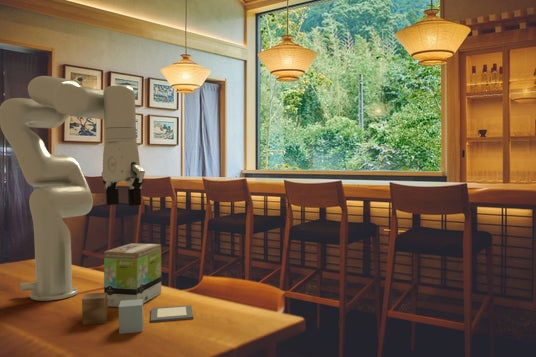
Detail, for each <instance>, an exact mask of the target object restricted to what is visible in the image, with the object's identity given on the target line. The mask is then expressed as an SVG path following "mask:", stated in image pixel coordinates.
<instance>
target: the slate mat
mask: <svg viewBox="0 0 536 357" xmlns="http://www.w3.org/2000/svg"><path fill="white" fill-rule="evenodd" d="M150 311H151V312H150V320H149V322H150V323H159V322H160V323H161V322H170V321H172V322H173V321H181V320H182V321H184V320H194V313H193V307H192V305H191V304H187V305H174V306H162V307H161V306H160V307H152V308H151V310H150Z"/></svg>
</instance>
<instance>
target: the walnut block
mask: <svg viewBox="0 0 536 357" xmlns="http://www.w3.org/2000/svg"><path fill="white" fill-rule="evenodd" d="M81 307H82V308H81V311H82V312H81V313H82V326H84V325H85V326H86V325H94V324H105V323H106V322H107V319H108V317H109V315H108V314H109V313H108V306H107V292H106V293H104V292H94V293H85V294H84V295H83V297H82V299H81Z"/></svg>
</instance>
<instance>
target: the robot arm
mask: <svg viewBox="0 0 536 357" xmlns="http://www.w3.org/2000/svg"><path fill="white" fill-rule="evenodd" d="M27 92H28V95H29V97H30V98H25V97H14V98H8V99H6V100H4V101H3V102H2V103H1V104H0V129H1V132H2V134H3V135H4V137H5V139H6V140H7V142H8V143H9V145H10V147H11V148H12V150H13V152H14V154H15V158H16V160H17V162H18V165H19V167H20V169H21V172H22V174H23V177H24V179H25V181H26V183H27V184H28V185H29V186H31V187H34V188H36V189H34V190H33V191H32V192H31V194H30V195H29V198H28V199H29V200H28V203H29V211H30V213H31V217H32V223H33V224H32V225H33V234H34V235H33V238H34V263H35V265H34V268H35V269H34V270H35V271H34V272H35V280H34V281H32V282H20V284H19V290H21V292H22V291H23V292H25V291H30V294H29V298H30V299H31V300H34V301H40V302H45V301H46V302H48V301H57V300H63V299H67V298H70V297H71V298H72V297H73V296H76V295H77V294H78V292H79V290H78V287H77V286H73V273H72V270H73V269H72V268H73V267H72V244H71V243H72V240H71V239H72V238H71V237H72V236H71V230H70V229H69V227H68V225H67V223H65V221H64V218H66V219H67V218H74V217H81V216H85V215H87V214H89V213H90V212H91V210H92V208H93V205H94V199H93V198H94V197H93V194H92V192H91V189H90V186H89V184H88V181H87V180H86V177H85V175H84V173H83V170H82V168H81V166H80V164H79V162H78V161H77V160H76V159H75V158H74V157H72V156H70V155H63V154H62V155H60V154H58V155H57V154H52V153H50V152H49V151H48V149H47V147H46V145H45V142H44V141H43V139H42V137H40V136H39V135H38V134H37V133H36V132H34V131H32V129H30V128H38V129H39V128H40V129H56V128H58V127H60V126H61V125H63V123H64V122H66V121H67V119H69V117H70V116H71V117H76V118H83V119H97V120H103V121H104V122H103V123H104V145H103V154H102V172H101V177H102V182H103V184H104V189H105V197H106V198H105V200H106V205H107V206H115V205H119V203H120V201H119V199H120V196H119V188H118V186H119V184H120V182H126V183H127V186H128V187H129V188H128V189H127V193H128V194H127V197H128V206H130V207H133V206H141V205H142V193H141V191H142V190H141V189H142V187H143V185H142V184H143V182H144V177H145V174H146V170H145V169H143V168H142V167H141V165H140V164H141V163H140V153H139V148H138V142H137V120H136V119H137V118H136V117H137V116H136V114H137V113H136V93H135V90H134V89H133V88H132V87H130V86H127V85H109V86H106V87H105V88H104V89H100V88H94V87H93V88H92V87H84V86H80V84H79V83H77V82H76V81H75V80H74V79H70V78H69V79H68V78H62V77H58V76H57V77H55V76H49V75H40V76H37V77H34V78H33V79H31V80H30V81H29V83H28V85H27Z"/></svg>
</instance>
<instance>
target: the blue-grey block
mask: <svg viewBox="0 0 536 357" xmlns="http://www.w3.org/2000/svg"><path fill="white" fill-rule="evenodd" d="M144 316H145V315H144V303H143V299H137V300H123V301H120V304H119V307H118V329H119V330H118V333H119V334H129V333H130V334H131V333H142V332H143V331H144V326H145V325H144V324H145V323H144Z"/></svg>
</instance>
